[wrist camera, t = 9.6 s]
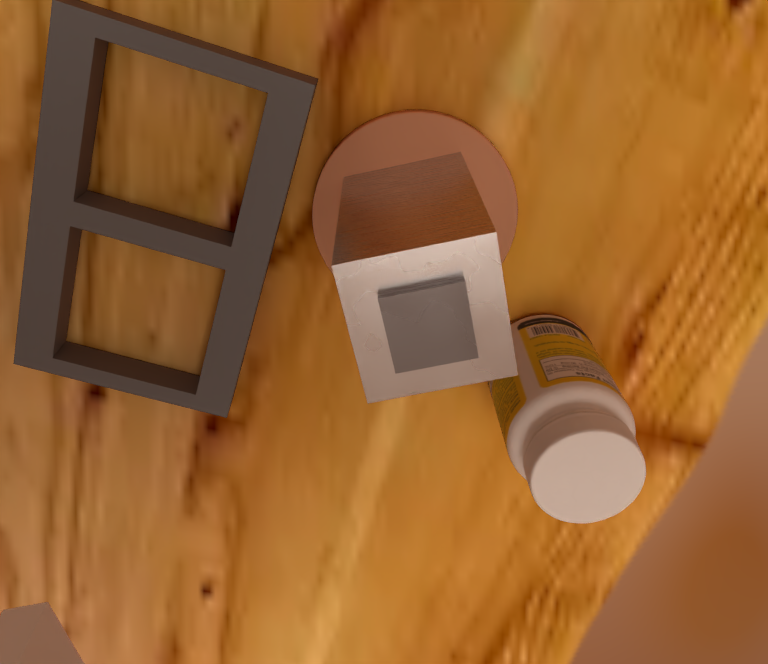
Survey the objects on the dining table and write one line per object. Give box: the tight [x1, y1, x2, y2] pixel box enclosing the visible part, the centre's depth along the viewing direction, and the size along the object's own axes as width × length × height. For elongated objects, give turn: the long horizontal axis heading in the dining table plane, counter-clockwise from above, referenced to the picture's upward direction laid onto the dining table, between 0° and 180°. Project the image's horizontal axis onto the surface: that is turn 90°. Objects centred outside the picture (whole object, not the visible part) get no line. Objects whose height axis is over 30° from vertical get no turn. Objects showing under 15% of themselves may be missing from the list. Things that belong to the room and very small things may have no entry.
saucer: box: [312, 110, 518, 275], centre depth 29 cm, size 8×8×1 cm
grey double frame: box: [14, 0, 318, 418], centre depth 29 cm, size 9×14×2 cm, turn 162°
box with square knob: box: [331, 152, 518, 403], centre depth 25 cm, size 4×4×9 cm
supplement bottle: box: [488, 315, 646, 523], centre depth 29 cm, size 5×5×8 cm
